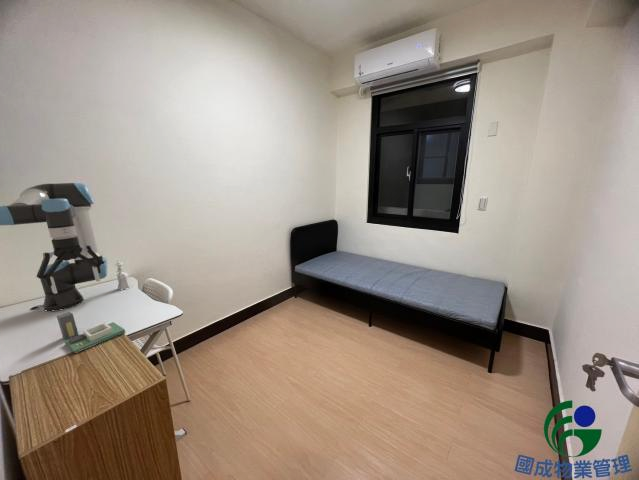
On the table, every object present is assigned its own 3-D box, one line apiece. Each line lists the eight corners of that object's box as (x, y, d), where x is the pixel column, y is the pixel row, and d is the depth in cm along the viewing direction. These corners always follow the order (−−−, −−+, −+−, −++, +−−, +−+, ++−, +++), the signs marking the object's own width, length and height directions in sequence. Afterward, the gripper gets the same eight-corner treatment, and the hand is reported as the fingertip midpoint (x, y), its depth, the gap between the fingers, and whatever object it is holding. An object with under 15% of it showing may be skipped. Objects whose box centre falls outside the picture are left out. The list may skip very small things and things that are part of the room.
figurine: (116, 288, 154) (109, 261, 150) (131, 284, 160) (126, 257, 156) (118, 291, 150) (112, 263, 146) (134, 287, 156) (129, 259, 152)
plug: (62, 337, 104) (56, 315, 102) (75, 332, 108) (69, 311, 105) (66, 340, 102) (59, 318, 100) (79, 335, 105) (73, 314, 103)
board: (65, 344, 99) (63, 336, 98) (113, 325, 112) (112, 317, 112) (75, 354, 93) (72, 345, 92) (125, 332, 106) (123, 324, 105)
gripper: (20, 245, 87) (37, 300, 92) (106, 232, 108) (116, 277, 113) (14, 243, 91) (31, 296, 96) (99, 231, 112) (109, 275, 117)
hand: (77, 286), depth 104 cm, fingers open, 13 cm apart
